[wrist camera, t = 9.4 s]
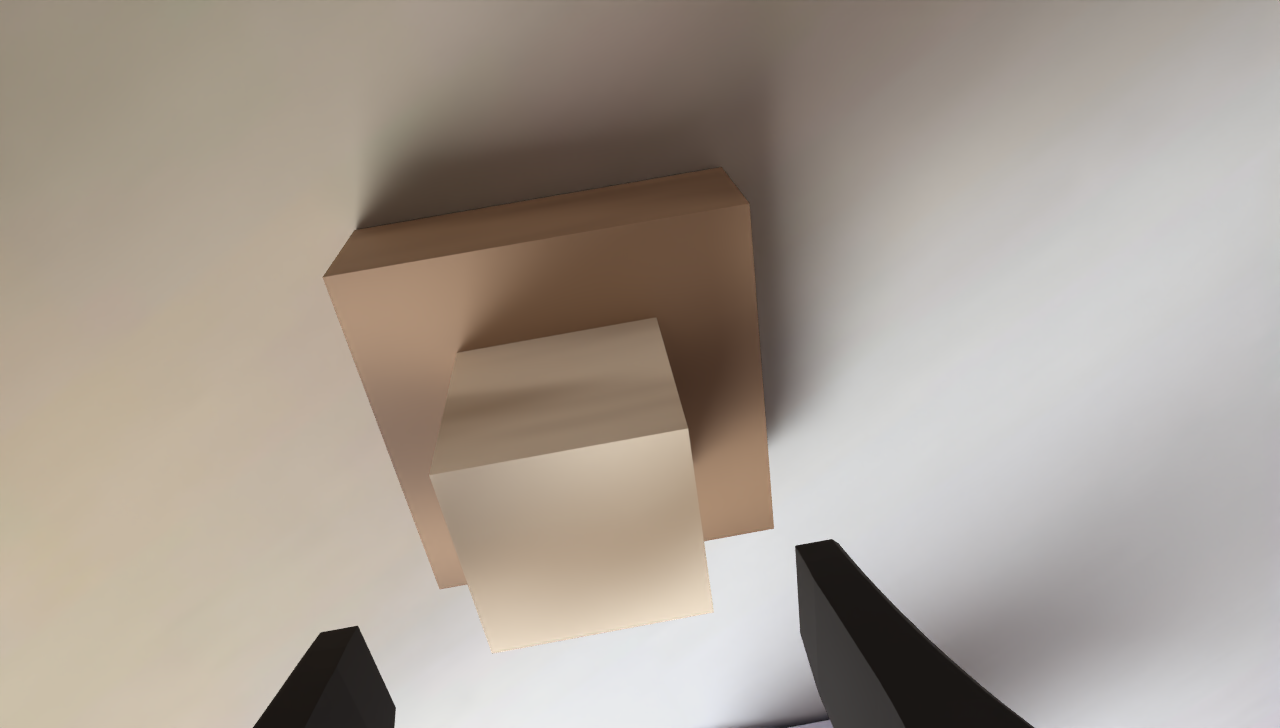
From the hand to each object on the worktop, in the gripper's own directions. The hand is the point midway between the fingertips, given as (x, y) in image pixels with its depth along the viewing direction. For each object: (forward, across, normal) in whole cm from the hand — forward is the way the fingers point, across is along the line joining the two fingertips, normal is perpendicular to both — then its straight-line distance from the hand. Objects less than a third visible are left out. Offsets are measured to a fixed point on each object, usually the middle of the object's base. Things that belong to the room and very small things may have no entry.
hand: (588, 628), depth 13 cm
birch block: (+6, 0, 0) cm, 6 cm away
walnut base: (+9, 0, 0) cm, 9 cm away
